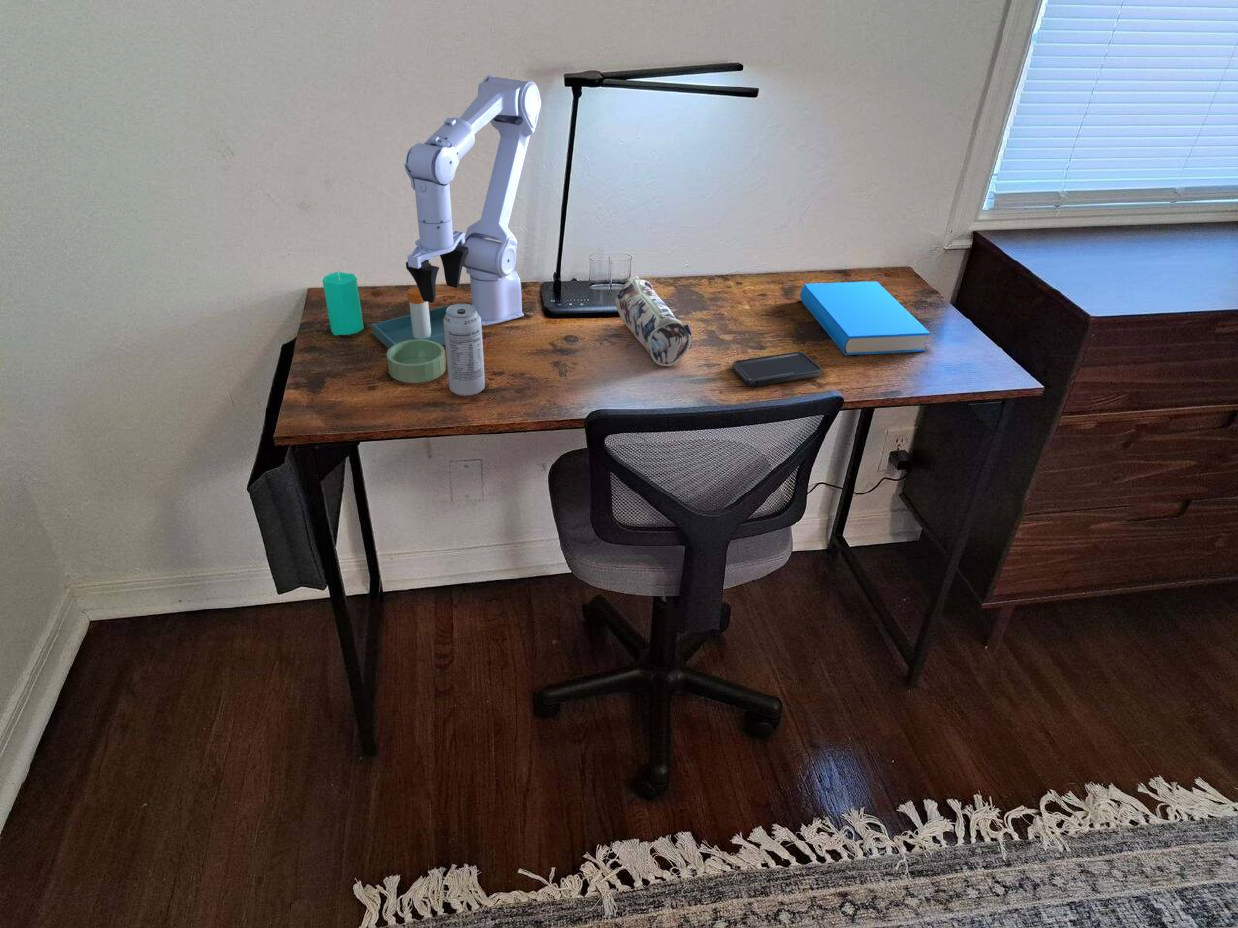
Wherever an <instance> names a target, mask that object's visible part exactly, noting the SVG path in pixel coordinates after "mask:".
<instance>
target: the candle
mask: <svg viewBox="0 0 1238 928" xmlns="http://www.w3.org/2000/svg"><path fill="white" fill-rule="evenodd" d="M322 286H323V291H324V296H325V298H324V299H325V303H326V310H327V315H328V320H329V321H328V322H329V326H330V331H331V333H332V335H334V336H339V335H340V336H341V335H345V336H346V335H353V334H357V333H359V332H360V331H362V330H364V329H365V326H364V320H363V319H364V318H363V312H362V306H361V299H360V293H359V285H358V278H357V276H356V275H355V274H354V273H348V272H347V273H346V272H343V271H339V269H337V271H336V272H335V271H334V272H332V273H328V274H327V275H325V276H324V277H323V278H322Z"/></svg>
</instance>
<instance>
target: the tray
mask: <svg viewBox="0 0 1238 928" xmlns="http://www.w3.org/2000/svg"><path fill="white" fill-rule="evenodd" d="M449 306H450V304H449V305H445V306H440V307H436V308H432V309H429V316H430V326H431V336H430V337H427V338H423V339H420V340H430V341H434V342H436V343H439V344H440V345H441V346H443V345H445V334H444V323H443V319H444V317H445V315H446V309H447V308H448V307H449ZM371 330H372V335H373V336H374V337H376V338H377V339H378V340H379V341H380V342H381V343H382V344H383V345H384V346H385V347H386V348H387V349H389V348H391V347H392V346H393V345H395V344H397V343H400V342H403V341H407V340H415V339H416V338H414V337H413V332H412V323H411V314H407V315H403V316H399V317H395V318H391V319H387V320H386V319H385V320H383V321H379V322H375V323H371ZM416 340H417V339H416Z"/></svg>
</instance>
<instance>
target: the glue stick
mask: <svg viewBox="0 0 1238 928" xmlns="http://www.w3.org/2000/svg"><path fill="white" fill-rule="evenodd" d="M406 294H407V300H408V305H409V313H410V314H409V315H411V323H412V332H413V337H414V338H416V339H423V338H427V337H430V336H431V326H430V316H429V310H430V306H429V302H426V301H423V299H422V296H421V294H420V291H419V288H418V286H414V287H410V288H408V289H407V293H406Z"/></svg>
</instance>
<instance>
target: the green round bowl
mask: <svg viewBox="0 0 1238 928" xmlns="http://www.w3.org/2000/svg"><path fill="white" fill-rule="evenodd" d="M386 362H387V368H388V374H389V376H390V377H391V378H392V379H395V381H399V382H402V383H410V384H418V383H427V382H431V381H434V380H435V379H438V378H439V377H441V376H443V375H444V373H445V372H446V369H447V359H446V350H445V348H444V346H443V345H440V344H439V343H436V342H434V341H430V340H420V339H417V340H416V339H415V340H407V341H403V342H400V343H397V344H395V345H393V346H392V347H391V348H387V351H386Z"/></svg>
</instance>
